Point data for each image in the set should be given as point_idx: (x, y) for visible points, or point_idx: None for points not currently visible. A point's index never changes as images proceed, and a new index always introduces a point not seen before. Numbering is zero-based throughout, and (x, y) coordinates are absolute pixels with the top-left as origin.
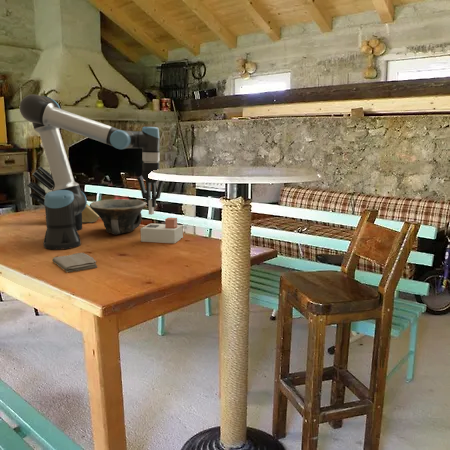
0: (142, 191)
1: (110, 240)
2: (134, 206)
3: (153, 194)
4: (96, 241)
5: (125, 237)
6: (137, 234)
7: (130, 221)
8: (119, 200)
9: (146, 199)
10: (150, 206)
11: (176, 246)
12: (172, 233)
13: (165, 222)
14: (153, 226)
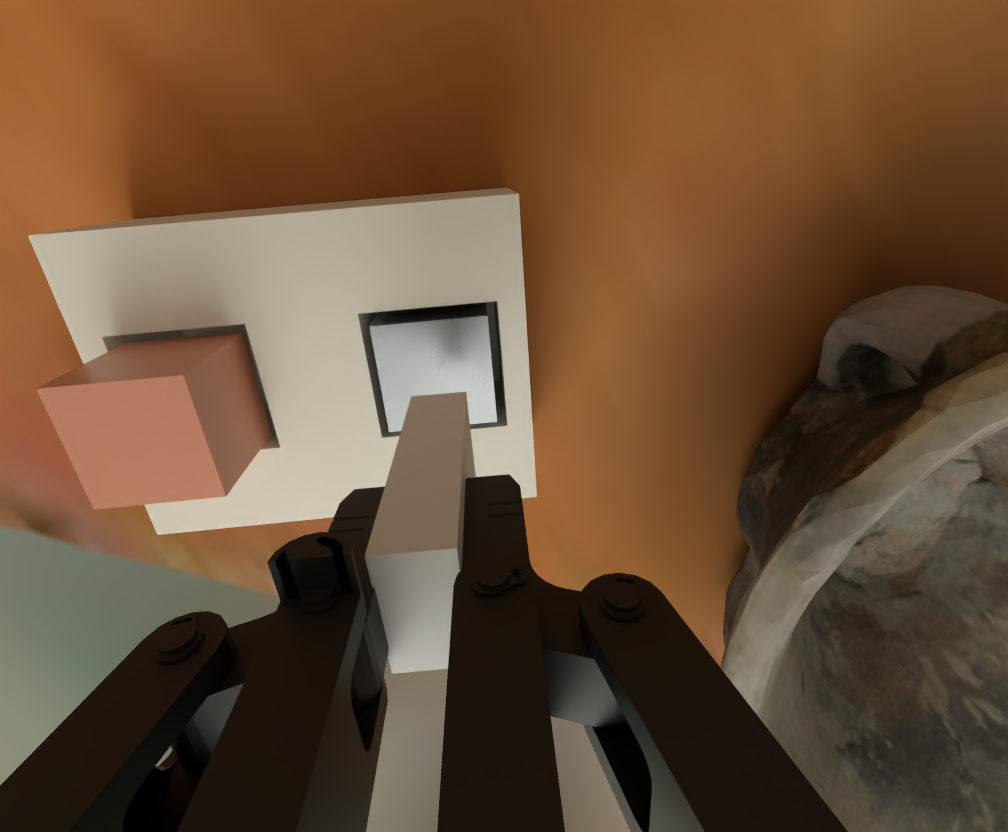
0: (743, 784)
1: (835, 130)
2: (818, 572)
3: (249, 730)
4: (975, 30)
5: (727, 305)
6: (662, 444)
7: (783, 498)
8: None
9: (538, 580)
10: (417, 463)
11: (18, 87)
12: (88, 228)
13: (203, 358)
14: (395, 322)
